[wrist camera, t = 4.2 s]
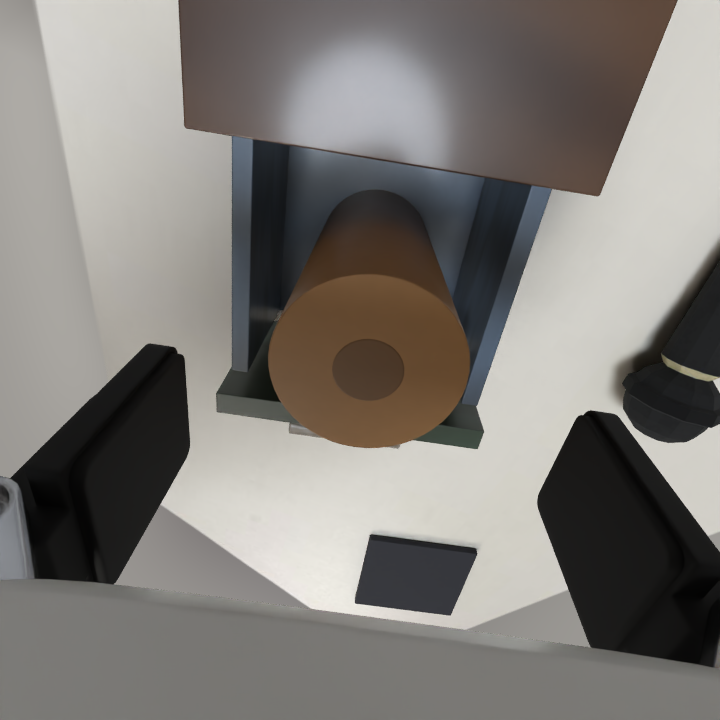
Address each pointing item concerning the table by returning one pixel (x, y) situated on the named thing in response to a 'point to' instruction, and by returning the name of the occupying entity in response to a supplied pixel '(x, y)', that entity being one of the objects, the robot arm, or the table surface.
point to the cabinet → (427, 80)
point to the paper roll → (370, 330)
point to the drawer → (303, 227)
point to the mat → (413, 575)
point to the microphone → (681, 376)
